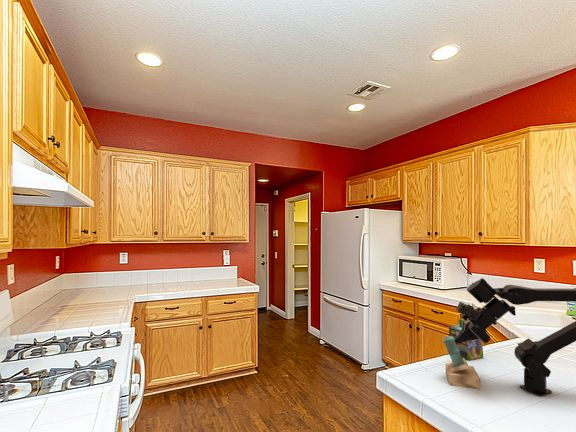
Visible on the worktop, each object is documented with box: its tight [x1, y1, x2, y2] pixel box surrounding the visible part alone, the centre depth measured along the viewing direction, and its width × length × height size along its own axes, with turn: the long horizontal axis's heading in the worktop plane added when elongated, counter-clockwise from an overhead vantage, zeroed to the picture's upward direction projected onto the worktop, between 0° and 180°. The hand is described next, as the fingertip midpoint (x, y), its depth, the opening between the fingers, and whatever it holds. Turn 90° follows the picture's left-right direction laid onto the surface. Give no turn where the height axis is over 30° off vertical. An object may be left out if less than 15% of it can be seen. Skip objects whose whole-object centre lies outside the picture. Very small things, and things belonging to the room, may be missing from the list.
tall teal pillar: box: [441, 335, 470, 373], centre depth 115 cm, size 6×8×10 cm
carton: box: [445, 362, 481, 390], centre depth 114 cm, size 9×10×4 cm
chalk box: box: [448, 318, 484, 362], centre depth 137 cm, size 9×9×15 cm
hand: (455, 342), depth 115 cm, fingers closed, pressing on tall teal pillar
